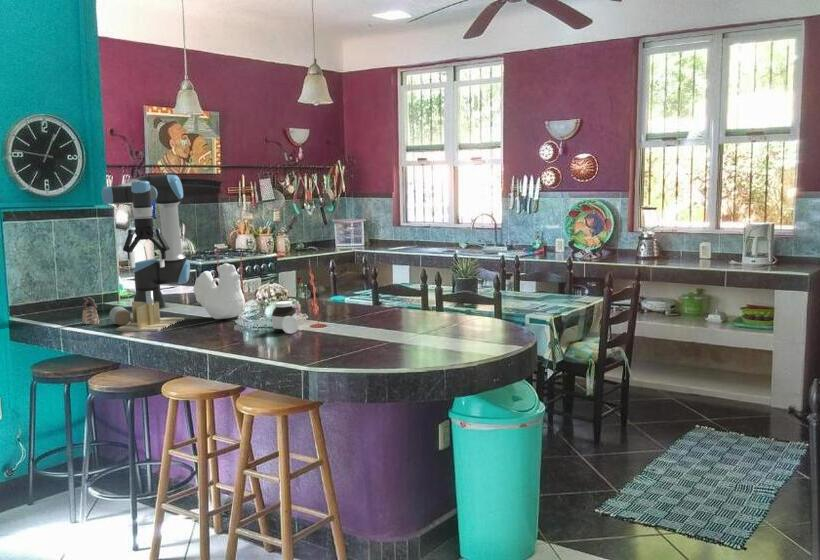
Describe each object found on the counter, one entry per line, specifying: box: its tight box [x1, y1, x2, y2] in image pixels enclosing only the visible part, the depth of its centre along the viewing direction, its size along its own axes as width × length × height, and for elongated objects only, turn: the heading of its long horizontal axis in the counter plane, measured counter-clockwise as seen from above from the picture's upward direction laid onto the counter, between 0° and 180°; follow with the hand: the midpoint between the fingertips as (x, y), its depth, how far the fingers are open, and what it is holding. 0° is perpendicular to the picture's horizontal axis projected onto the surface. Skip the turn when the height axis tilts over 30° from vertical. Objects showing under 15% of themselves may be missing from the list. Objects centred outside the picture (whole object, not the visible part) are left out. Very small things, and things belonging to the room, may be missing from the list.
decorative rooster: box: [192, 263, 246, 320], centre depth 347 cm, size 25×16×25 cm, turn 55°
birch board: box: [115, 317, 185, 332], centre depth 336 cm, size 24×19×1 cm
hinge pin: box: [146, 291, 154, 304], centre depth 334 cm, size 3×3×14 cm
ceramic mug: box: [108, 306, 134, 326], centre depth 341 cm, size 11×8×8 cm
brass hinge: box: [131, 300, 161, 329], centre depth 332 cm, size 15×14×9 cm
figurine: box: [81, 296, 101, 326], centre depth 345 cm, size 7×7×12 cm
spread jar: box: [271, 300, 299, 335], centre depth 312 cm, size 12×11×12 cm
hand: (147, 267), depth 332 cm, fingers open, 13 cm apart
